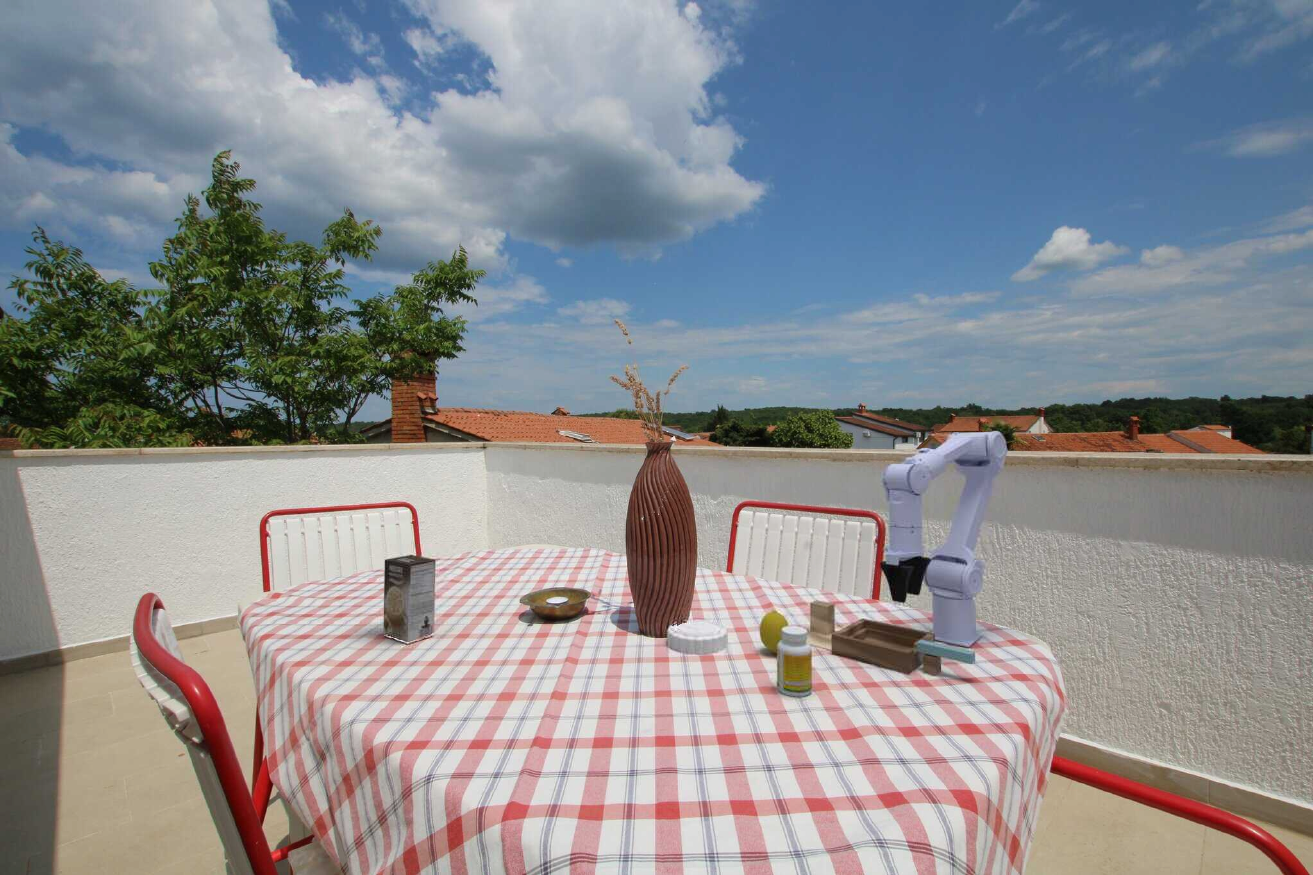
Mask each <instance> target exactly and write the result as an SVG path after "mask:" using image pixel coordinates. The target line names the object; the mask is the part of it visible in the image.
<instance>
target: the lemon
mask: <svg viewBox="0 0 1313 875" xmlns="http://www.w3.org/2000/svg"><path fill="white" fill-rule="evenodd" d="M786 626H790V625H789V622H788V621H787V619H786V617H785V616H784V615H783V614H781V613H780V612H777V610H772V611H770V612H767V614H765V615H764V616H763V617H762V619H761V622H760V625H759V638H760V640H761V643H762V644H763V646H764V647H765V648H766V649H768V650H770V651H771V653H773V654H777V645H778V643H779V642H780V641H781V640H783V639H782V636H781V634H782V628H783V627H786Z"/></svg>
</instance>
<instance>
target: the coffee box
mask: <svg viewBox="0 0 1313 875" xmlns="http://www.w3.org/2000/svg"><path fill="white" fill-rule="evenodd" d="M436 562H437V561H436V559H435V558H434V559H433V558H430V557H429V558H428V557H424V556H421V555H420V556H418V555H416V554H415V555H414V554H409V555H408V554H407V555H404V556H403V555H402V556H398V557H391V558H387V559H386V558H385V559H384V573H383V574H384V578H383V579H384V580H383V582H384V584H383V585H384V586H383V589H384V590H383V623H382V624H383V634H384V635H388V636H391V637H393V638H397V639H399V640H403V641H405V642H411V641H413V640H416V639H419V638H422V637H424V636H427V635H431V634H432V633H434V634H435V614H436V613H435V612H436V608H435V607H436V606H435V604H436V602H435V601H436Z"/></svg>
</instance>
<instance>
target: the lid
mask: <svg viewBox="0 0 1313 875" xmlns="http://www.w3.org/2000/svg"><path fill="white" fill-rule="evenodd" d="M809 604H810V605H809V616H810V617H809V618H810V620H809V621H810V622H809V624H810V625H808V624H806V625H805V626H810V627H804V626H802V628H804V629H806V630H807V637H808V638H807V640H806V642H807V643H809V645H810V646H811V647H814V648H815V647H816V648H819V649H822V650H826V651H830V652H832V645H831V635H832V634H834V633H835V632H837V631H838V630H835V629H836V628H835V627H836V626H835V625H836V622H835V621H836V619H835V611H836V610H835V607H836V605H835V603H833V602H828V601H823V600H818V599H817V600H814V601H811V602H810V603H809ZM809 629H810V630H809Z"/></svg>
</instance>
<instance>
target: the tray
mask: <svg viewBox="0 0 1313 875" xmlns="http://www.w3.org/2000/svg"><path fill="white" fill-rule="evenodd" d="M836 631H837V632H835V633H834V634H832V635H831V645H832V651H831V655H835V656H838V657H842V658H844V659H845V658H846V659H848V660H849V659H850V660H854V661H856V662H860V663H864V664H868V665H872V666H876V667H880V668H883V669H887V670H891V671H895V672H897V673H898V672H899V673H902V674H906V675H910V674H912V673H913V672H915V670H916V669H918V668H919V667H920V666H921V665H922V670H923V671H922V673H923V674H927V675H930V676H934V677H936V676H938V675H939V673H941V672H942V657H938V656H934V655H930V654H925V653H921V652H917V642H918V641H920V640H926V641H930V642H935V643H936V640H935V634H934V633H930V632H928V631H924V630H918V629H915V628H910V627H906V626H900V625H895V624H891V623H885V622H881V621H877V620H871V619H867V618H861V619H859V620H856V621H855V622H853V623H851V624H849V625H847V626H845V627H844V628H841V629H840V630H836Z"/></svg>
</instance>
